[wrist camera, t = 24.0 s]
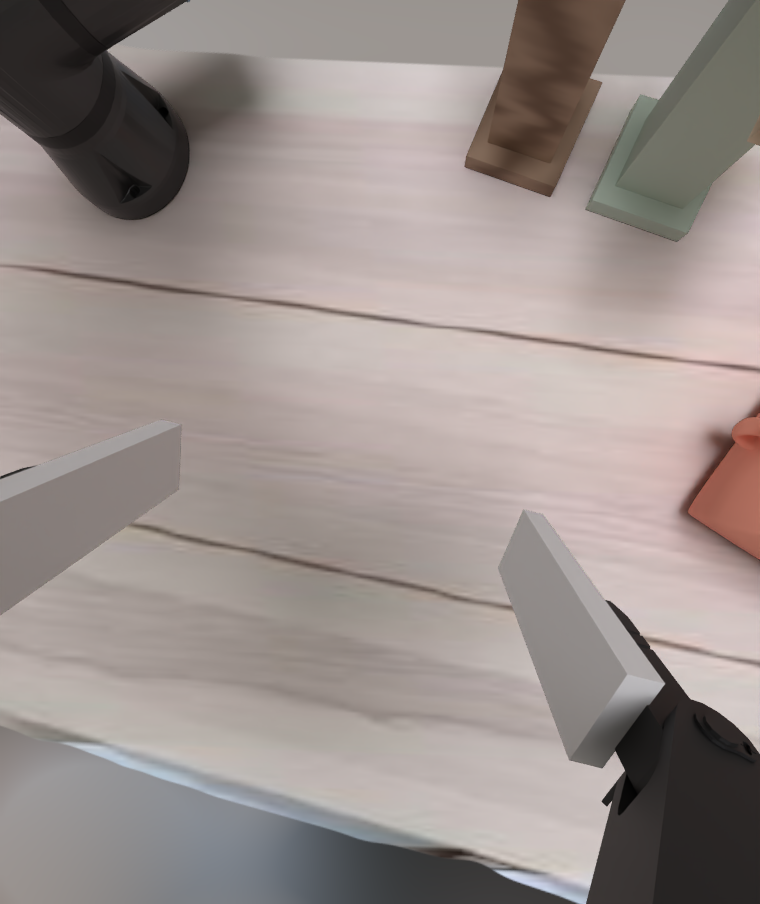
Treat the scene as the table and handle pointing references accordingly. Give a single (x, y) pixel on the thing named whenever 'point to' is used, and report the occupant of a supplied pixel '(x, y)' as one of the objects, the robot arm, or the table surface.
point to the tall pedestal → (543, 91)
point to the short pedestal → (687, 130)
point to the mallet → (755, 133)
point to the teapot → (735, 491)
